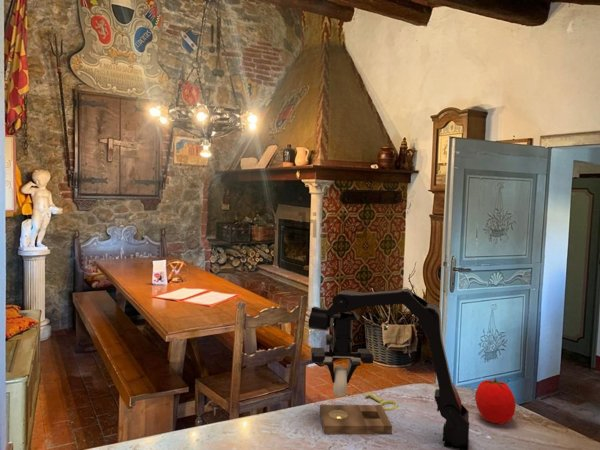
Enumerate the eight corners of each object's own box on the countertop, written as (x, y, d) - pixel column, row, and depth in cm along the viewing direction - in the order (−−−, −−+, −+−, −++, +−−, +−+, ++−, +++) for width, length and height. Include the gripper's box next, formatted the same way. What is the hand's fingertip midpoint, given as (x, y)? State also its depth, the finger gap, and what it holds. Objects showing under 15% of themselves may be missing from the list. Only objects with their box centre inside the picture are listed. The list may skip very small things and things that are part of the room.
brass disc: (350, 412, 147) (350, 412, 147) (344, 420, 141) (344, 420, 141) (332, 409, 149) (332, 408, 149) (325, 417, 144) (325, 416, 144)
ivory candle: (347, 392, 146) (349, 367, 146) (344, 397, 143) (345, 371, 142) (335, 390, 148) (336, 365, 147) (331, 395, 144) (332, 369, 144)
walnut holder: (381, 412, 153) (381, 405, 153) (391, 434, 139) (392, 425, 139) (319, 412, 152) (320, 404, 152) (324, 434, 138) (324, 425, 138)
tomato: (504, 434, 141) (506, 390, 140) (466, 418, 150) (468, 378, 149) (522, 423, 148) (524, 381, 147) (485, 409, 158) (487, 370, 157)
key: (367, 396, 166) (367, 390, 166) (400, 406, 159) (400, 400, 159) (357, 403, 161) (357, 397, 160) (390, 414, 153) (391, 407, 153)
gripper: (368, 326, 152) (365, 373, 153) (310, 324, 152) (308, 372, 153) (375, 336, 141) (372, 387, 142) (312, 334, 141) (310, 386, 141)
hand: (340, 382), depth 145 cm, fingers closed on ivory candle, 4 cm apart
